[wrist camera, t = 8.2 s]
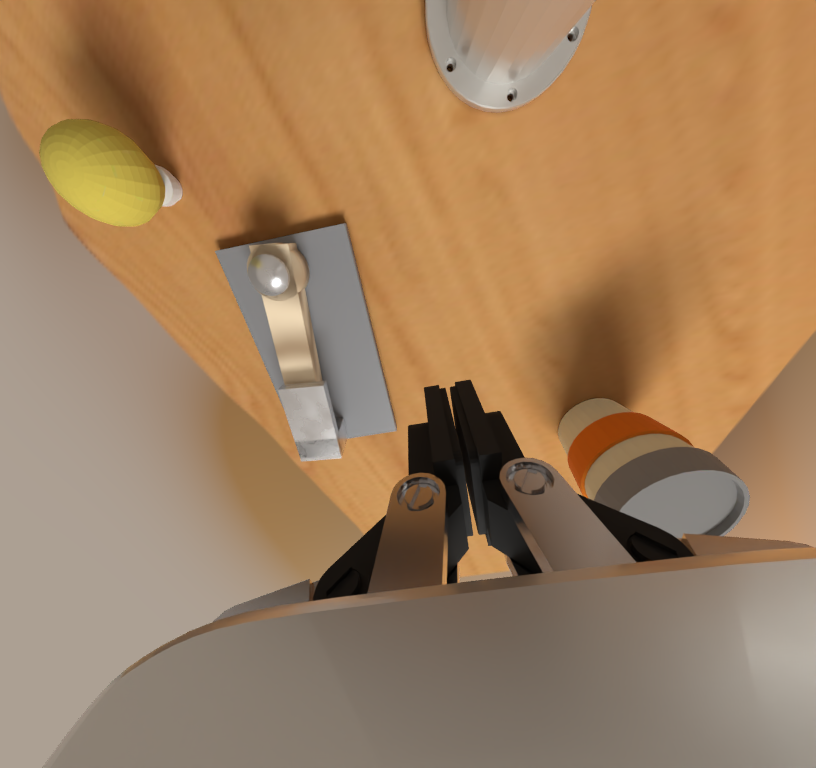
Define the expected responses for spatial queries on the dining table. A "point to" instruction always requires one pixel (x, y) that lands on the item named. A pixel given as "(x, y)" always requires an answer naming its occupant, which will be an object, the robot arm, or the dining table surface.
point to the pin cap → (268, 274)
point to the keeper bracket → (313, 421)
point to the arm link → (291, 317)
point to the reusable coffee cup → (650, 471)
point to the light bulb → (105, 173)
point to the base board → (325, 326)
